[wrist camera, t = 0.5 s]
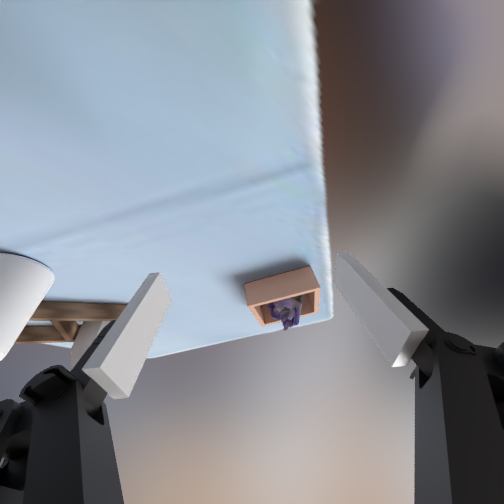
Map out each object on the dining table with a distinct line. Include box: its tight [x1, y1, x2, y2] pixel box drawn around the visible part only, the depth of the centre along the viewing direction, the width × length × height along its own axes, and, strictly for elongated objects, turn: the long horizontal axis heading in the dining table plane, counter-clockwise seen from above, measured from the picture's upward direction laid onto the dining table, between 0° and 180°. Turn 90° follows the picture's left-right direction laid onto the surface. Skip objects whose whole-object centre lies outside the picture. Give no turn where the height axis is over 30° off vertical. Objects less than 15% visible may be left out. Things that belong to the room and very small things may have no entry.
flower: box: [267, 294, 303, 330], centre depth 40 cm, size 9×9×10 cm
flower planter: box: [245, 266, 320, 326], centre depth 41 cm, size 13×14×5 cm
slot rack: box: [14, 301, 127, 343], centre depth 36 cm, size 24×12×3 cm, turn 66°
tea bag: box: [71, 321, 111, 369], centre depth 36 cm, size 4×7×10 cm, turn 114°
